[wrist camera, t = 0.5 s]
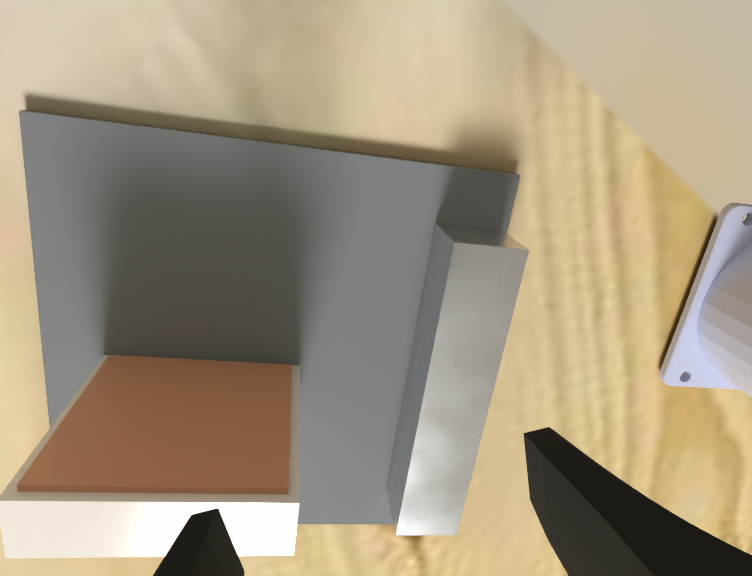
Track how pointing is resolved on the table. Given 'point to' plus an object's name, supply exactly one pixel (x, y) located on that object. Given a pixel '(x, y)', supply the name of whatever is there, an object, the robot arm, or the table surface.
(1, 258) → the table surface
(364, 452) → the mat
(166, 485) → the tile
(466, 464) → the bar
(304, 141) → the table surface
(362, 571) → the table surface
